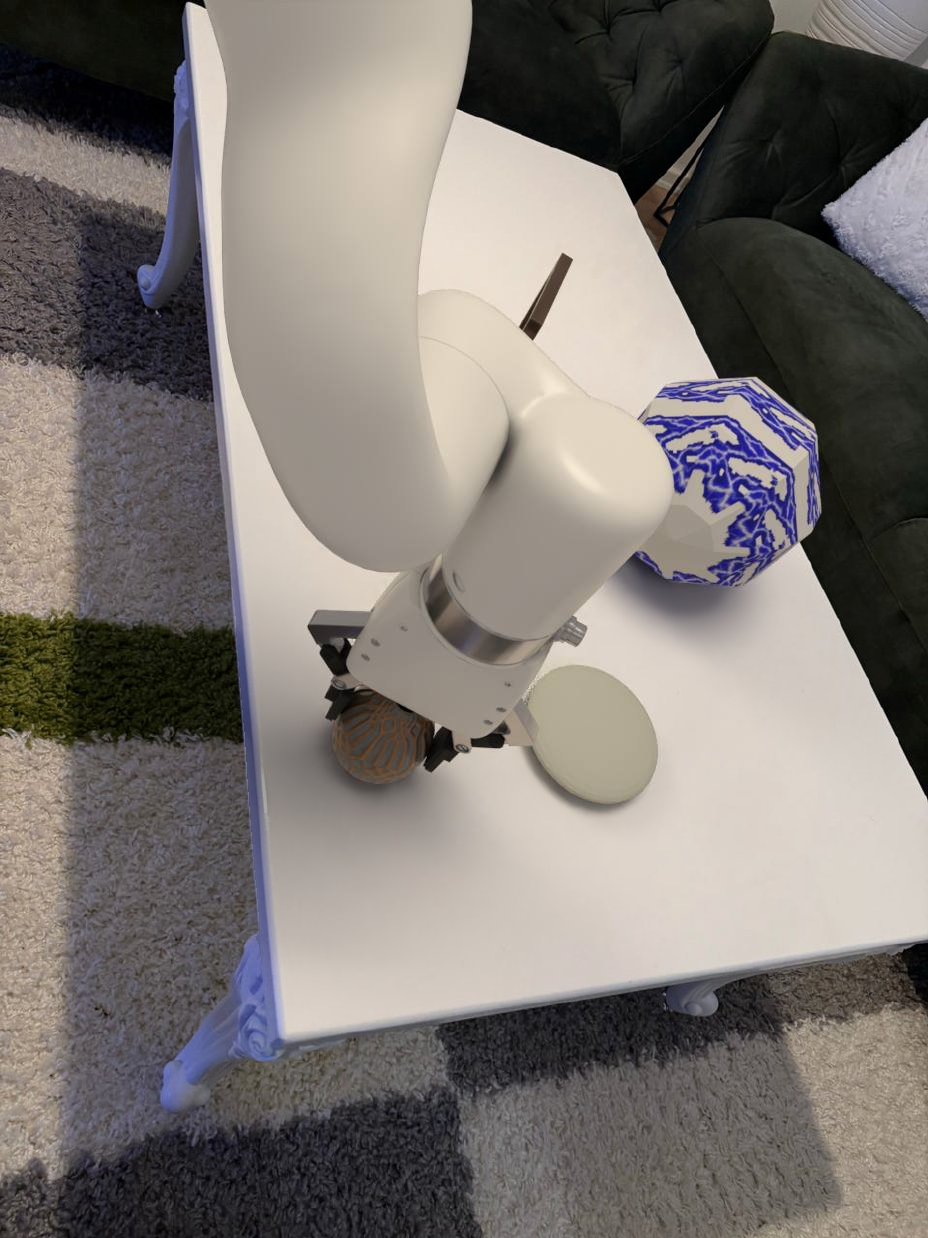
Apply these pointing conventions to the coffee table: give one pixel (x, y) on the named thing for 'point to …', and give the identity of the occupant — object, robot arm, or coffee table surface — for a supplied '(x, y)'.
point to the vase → (380, 737)
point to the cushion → (593, 734)
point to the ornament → (731, 480)
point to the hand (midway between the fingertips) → (386, 727)
